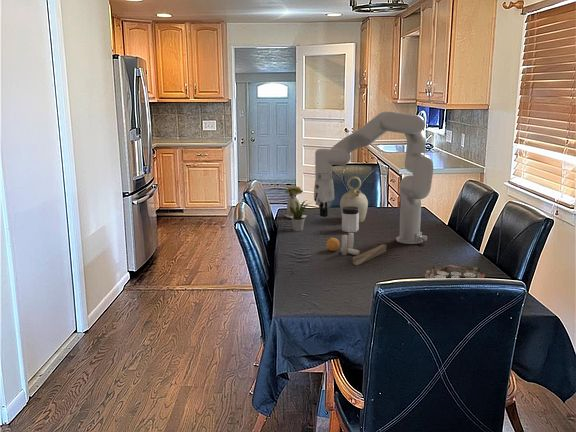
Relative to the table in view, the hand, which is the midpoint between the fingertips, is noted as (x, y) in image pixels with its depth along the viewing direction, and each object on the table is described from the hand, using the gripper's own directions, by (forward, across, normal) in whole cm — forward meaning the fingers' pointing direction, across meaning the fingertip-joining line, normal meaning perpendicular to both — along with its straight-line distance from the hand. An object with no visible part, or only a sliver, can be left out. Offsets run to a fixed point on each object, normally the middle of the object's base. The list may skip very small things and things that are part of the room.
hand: (323, 216), depth 242 cm
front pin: (+14, 0, -10) cm, 17 cm away
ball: (+12, -1, -6) cm, 14 cm away
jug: (+15, +54, +19) cm, 59 cm away
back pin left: (+15, -2, -13) cm, 20 cm away
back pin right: (+15, +2, -13) cm, 20 cm away
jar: (+15, +34, +8) cm, 38 cm away
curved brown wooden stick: (+15, 0, -25) cm, 29 cm away
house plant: (+15, +20, +30) cm, 39 cm away
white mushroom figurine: (+15, +40, +50) cm, 66 cm away
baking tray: (+16, -8, -67) cm, 69 cm away
